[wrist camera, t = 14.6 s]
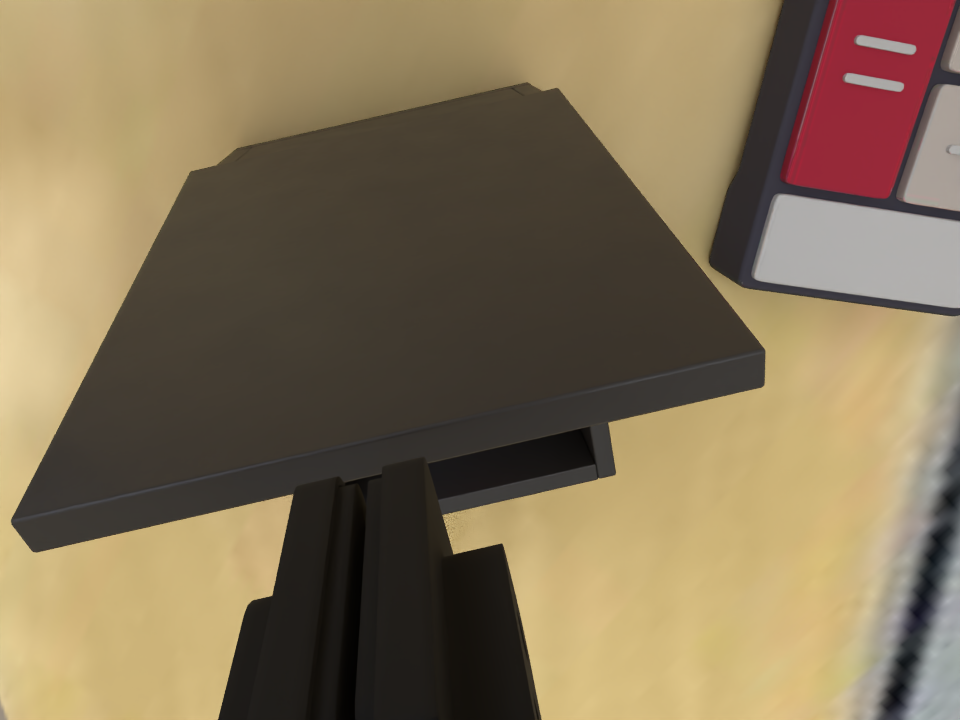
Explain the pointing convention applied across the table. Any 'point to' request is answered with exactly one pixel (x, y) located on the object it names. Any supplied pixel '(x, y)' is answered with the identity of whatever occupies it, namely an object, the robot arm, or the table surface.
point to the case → (495, 468)
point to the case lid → (383, 320)
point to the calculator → (853, 159)
